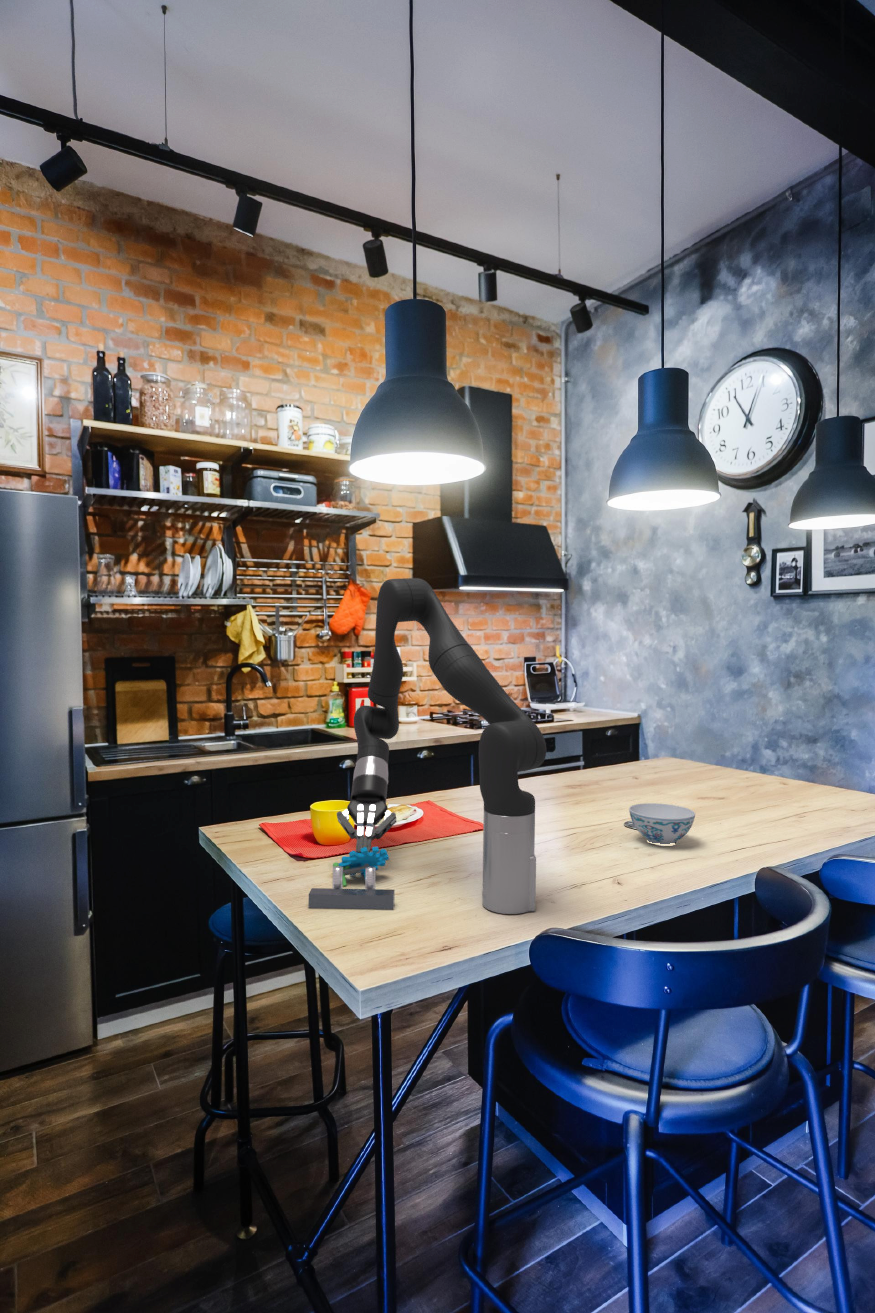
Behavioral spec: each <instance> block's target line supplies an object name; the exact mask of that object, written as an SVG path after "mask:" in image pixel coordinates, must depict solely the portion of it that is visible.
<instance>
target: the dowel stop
mask: <svg viewBox="0 0 875 1313" xmlns="http://www.w3.org/2000/svg"><path fill="white" fill-rule="evenodd" d="M364 882H365V884H364V885H365V888H343V887H344V886H343V867H341V866H335V867H333V866H332V888H331V887H330V888H327V887H326V888H324V887H323V888H322V887H321V888H320V887H318V888H317V887H313V888H310V891H309V892H308V908H309V909H334V910H335V909H336V910H337V909H338V910H339V909H340V910H341V909H343V910H345V909H346V910H350V909H351V910H391V911H392V910H394V908H395V898H396V897H395V894H396V893H395V889H388V888H387V889H385V888H383V889H378V888H377V889H376V871H375V867H366V877H365V878H364Z"/></svg>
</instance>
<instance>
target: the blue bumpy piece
mask: <svg viewBox="0 0 875 1313" xmlns="http://www.w3.org/2000/svg"><path fill="white" fill-rule="evenodd" d="M360 850H361V853H357V852H356V850H351V851H350V852H349V853H348V856H342V857H341V859H340V860H341V862H334V863H332V868H333V867H335V866H341V867H343V886H342V887H347V879H346V876H356V875H357V874H360V875H361V876H364V879H365V877H366V867H375V872H376V871H378V869H379V867H384V866H386V864H387V863H386V861H389V860H390V856H389V853H388V851H387V849H384V848H381V849H380V848H379V846H371V852H368V850H367V847H364V848H361V849H360Z"/></svg>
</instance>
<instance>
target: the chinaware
mask: <svg viewBox="0 0 875 1313" xmlns="http://www.w3.org/2000/svg"><path fill="white" fill-rule="evenodd" d="M628 810H629V816H630V819H631V822H632V824H633V826H634V827H635V829H636V831H637V832H638V833H639V834H640V835H642V836H643V838H644V839H645V838H646V839H647V840H648V841H649V842H652V843H660V844H670V843H675V842H676V843H677V841H680V840H681V839H683V838H684V837H686V835H687V834H688V833H689V832H690V830H691V829H692V827H693V824H694V822H695V817H696V812H695V811H694V810H692V809H690V808H687V807H685V806H680V805H677V804H676V805H675V804H669V803H657V802H656V803H653V802H649V803H648V802H646V803H636V804H633V805H631V806H629V808H628Z"/></svg>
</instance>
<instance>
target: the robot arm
mask: <svg viewBox="0 0 875 1313" xmlns="http://www.w3.org/2000/svg"><path fill="white" fill-rule="evenodd" d="M375 615H376V617H375V632H374V633H375V634H374V636H375V637H374V638H375V639H374V641H375V642H374V656H373V665H372V670H371V675H370V679H369V683H368V687H367V688H368V689H367V698H368V699H369V701H371V702H372V703H373V704H376V705H377V706H373V705H372V706H371V705H361V706H360V707H358V708H357V709H356V711H355V713H354V715H353V727H354V728H353V729H354V733H355V736H356V737H355V738H356V743H357V754H356V761H355V762H356V763H355V768H354V770H353V779H352V786H351V795H350V801H349V803H348V805H347V807H346V809H345V810H343V811H337V812H336V817H337V818H336V820H337V822H338V823H339V824H340V826H341V827H342V829H343V830H344V831H345V833H346V834H347V835H348V836H349V838H350V840H351V839H352V840H353V839H355V840H356V844H355V851H356V852H357V853H361V850H360V849H361V848H364V847H367V850H368V852H372V841H374V840H381V839H382V838H383V836H385V834H386V833H387V832H388V831H389V830H390V829H391V828H392V827H393V826H395V824H396V823H397V814H396V812H394V811H393V812H391V811H390V810H389V809H388V805H387V797H388V796H387V794H388V785H389V756H390V746H389V744H388V743H387V741H385V740H391V739H393V738H394V737H395V736H396V735H397V734H398V732H399V729H400V719H399V711H398V707H399V706H398V703H399V701H398V700H399V695H400V689H401V686H402V683H403V677H404V664H403V661H402V658H401V654H400V653H399V651H398V648H397V645H396V640H395V639H396V638H395V635H396V630H397V626H398V624H399V623H405V622H416V623H419V624H420V625H421V626H422V628H424V630H425V632H426V633H427V635H428V637H429V644H428V646H429V647H428V655H427V656H428V658H427V659H428V664H429V668H430V670H431V672H432V673H433V675H434V676H435V678H436V679H437V681H438V682H439V683H440V685H441V686H442V688H443V689H444V691H445V692H446V693H447V694H449V696H450V697H452V698H454V699H455V700H456V701H457V702H458V703H460V704H461V705H463V706H464V707H466V708H468V709H470V710H471V711H473V712H474V713H476V714H477V715H479V716H480V717H481V718H483V720H485V721H486V723H488V725H487V726H485V727H484V729H483V730H482V732H481V734H480V739H479V742H478V743H479V744H478V769H479V770H478V774H479V790H480V791H479V792H480V794H481V798H482V801H483V827H482V828H483V832H482V833H483V838H482V840H483V841H482V842H483V844H482V891H481V894H482V897H481V898H482V901H481V903H482V907H484V908H485V909H486V910H489V911H491V912H494V913H498V914H504V915H505V914H506V915H517V914H518V915H519V914H524V913H527V912H535V911H536V894H537V892H536V890H537V889H536V887H537V882H536V881H537V858H536V854H535V846H536V845H535V844H536V843H535V842H536V841H535V838H536V835H535V834H536V829H535V828H536V798H535V796H534V795H533V794H532V793H531V792H528V791H525V790H522V789H521V788H520V786H519V774H518V773H521V772H522V773H523V772H527V771H531V770H535V769H536V768H539V767H540V766H541V765H542V764H543V763H544V762H545V759H546V757H547V742H546V739H545V737H544V735H543V732H542V731H541V730H540V728H539V726H538V725H537V724H536V723H535V722H534V720H532V719H531V718H530V716H529V715H528V714H527V713H526V712H525V711H524V710H523V709H522V708H521V707H520V706H519V705H518V704H517V703H516V702H515V701H514V700H513V699H512V698H511V696H510V695H509V694H508V693H507V692H506V691H505V690H504V688H503V686H502V685H501V684H500V682H498V680H497V679H496V678H495V676H494V675H493V674H492V673H491V671H490V670H489V668H487V666H486V664H485V663H484V662H483V660H482V659H481V658H480V656H479V655H478V654H477V652H476V651H475V649H474V648H473V646H472V645H470V643H469V642H468V641H467V640H466V638H465V637H464V636H463V635H462V633H461V631H460V630H459V629H458V628H457V626H456V625H455V623H454V621H453V620H452V619H451V617H450V616H449V614H448V613H447V611H446V609H445V608H444V606H443V605H442V603H441V601H440V599H439V597H438V596H437V594H436V592H435V590H434V589H433V588H432V586H431V585H430V584H429V583H428V582H427V581H426V580H425V579H423V578H418V577H406V578H405V577H404V578H389V579H387V580H385V581H384V582H382V584H381V586H380V587H379V591H378V594H377V602H376V613H375ZM378 706H380V707H378ZM350 818H351V819H352V821H353V822H354V824H356V826H357V829H355V828H354V826H353V825H352V824H351V822H350V821H349V820H350ZM383 819H384V820H383ZM382 820H383V821H382ZM381 821H382V822H381ZM380 822H381V823H380ZM379 823H380V824H379ZM378 824H379V825H378ZM376 825H378V826H376ZM365 827H366V829H365Z"/></svg>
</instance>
